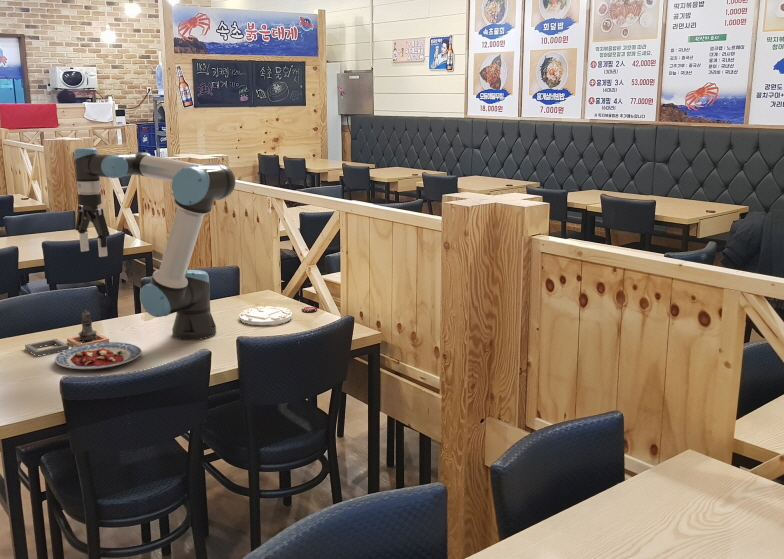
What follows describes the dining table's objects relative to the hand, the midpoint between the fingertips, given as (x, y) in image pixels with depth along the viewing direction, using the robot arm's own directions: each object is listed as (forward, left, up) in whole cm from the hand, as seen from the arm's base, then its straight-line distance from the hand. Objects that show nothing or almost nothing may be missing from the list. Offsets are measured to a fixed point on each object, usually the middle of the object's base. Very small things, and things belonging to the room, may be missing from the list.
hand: (94, 253), depth 267 cm
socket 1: (-9, +22, -28) cm, 37 cm away
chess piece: (-11, +9, -28) cm, 32 cm away
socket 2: (-11, +9, -28) cm, 32 cm away
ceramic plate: (-31, +14, -29) cm, 44 cm away
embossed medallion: (-27, -53, -29) cm, 66 cm away
